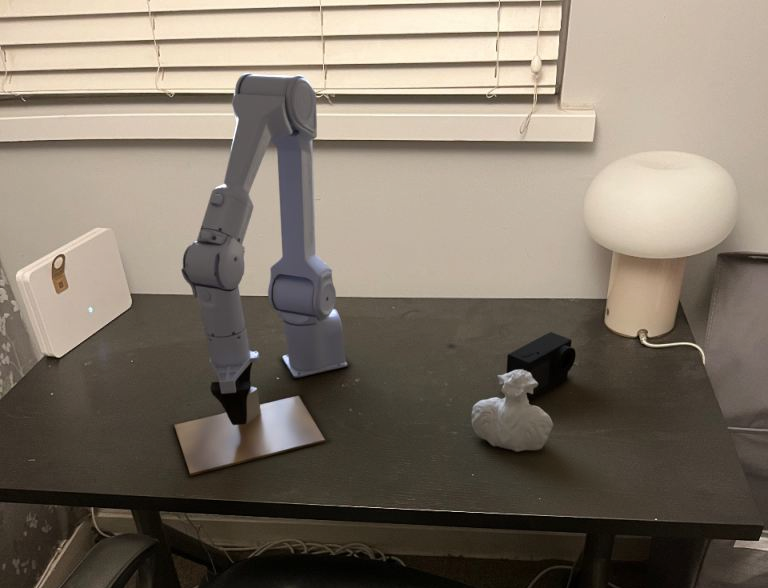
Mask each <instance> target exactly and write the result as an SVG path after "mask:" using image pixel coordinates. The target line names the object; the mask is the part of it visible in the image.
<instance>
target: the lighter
mask: <svg viewBox="0 0 768 588" xmlns="http://www.w3.org/2000/svg"><path fill="white" fill-rule="evenodd" d="M260 405H261V404H260V399H259V394H258V388H257V387H254V386H251V387H250V391H249V393H248V396H247V421H246V424H248V423H249V422H250V421H251V420H253V419H254V418H255V417H256V416H258V415H259V414H260V413H261V410H260ZM246 424H243V425H246Z"/></svg>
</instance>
